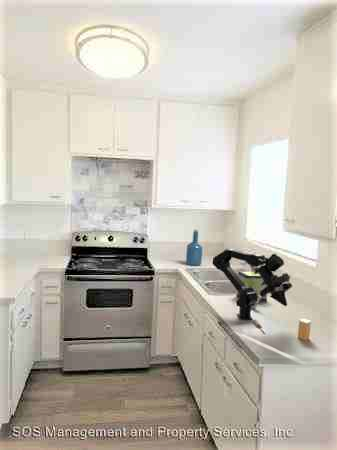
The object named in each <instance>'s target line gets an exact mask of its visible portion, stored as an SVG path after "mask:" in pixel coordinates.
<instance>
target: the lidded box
mask: <svg viewBox="0 0 337 450" xmlns="http://www.w3.org/2000/svg"><path fill="white" fill-rule="evenodd" d="M311 323H312V320H309V319H306V318H300V319H299V320H298V330H297V338H298V339H301V340H303V341H307V340H309V339H310V335H311V334H310V333H311V325H312V324H311Z"/></svg>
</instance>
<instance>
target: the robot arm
mask: <svg viewBox="0 0 337 450" xmlns="http://www.w3.org/2000/svg"><path fill="white" fill-rule="evenodd" d="M232 259H236V260H239V261H243V262H245V263H247V264H248V265H250V266H252V267H257V268H255V269H254V270H255V271H254V272H255V274H260V276H261V277H262V279H263V281H264V282H263V284H266V286H267V287H265V288H264V289H263V290H261V291H260V295H261V297H262V298H263V297H266V294H267V295H268V294H270V296H269V298H271V299H273V300H275V301H276V302H278V303H279V304H281V305H282V306H284V307H287V306H288V302H287V297H286V292H287V291H289V290H290V289H292V287H293V284H292V283H291V282H290V279H291V276H290V275H289V274H288V273H282V275H281V276H279V275H277V274H274V272H277V270H279V269H280V268H281V267H283V266H284V265H285V261H284V260H283V258H281V256H279V255H277V254H276V253H272V254H271V256H269V257H265V254H263V253H248V252H244V251H241V250H237V249H234V248H226V249H224V251H222V252H220V253H219V254H217V255H215V256H214V257H213V259H212V265H213V266H214V268H216V269H217V270H219V271H221V272H222V273H223V274H224V275H225V276H226V278H227V279H228V280H229V282H230V283H231V284H232V286H233V288H234V289H235V290H236V292H237V291H238V293H239V297H238V298H239V299H237V300H236V302H235V303H236V306H237V307H239V310H238V312H239V313H236V316H237V317H238V318H239V319H240V320H250V321H251V320H252V321H253V318H252V315H251V314H252V313H251V312H252V308H251V306H254V305H255V303H256V304H257V300H258V296H257V294H256V293H257V292H255V291H254V289H253V288H252V287H249V288H248V287H246V286H245V285H244V283H243V282H242V281H241V280H240V278H239V277H238V274H237V273H236V272H235V271H234V269H233V268H232V267H231V262H230V261H232Z"/></svg>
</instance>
